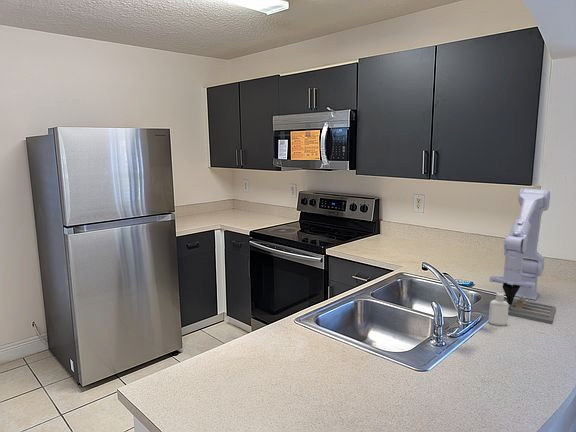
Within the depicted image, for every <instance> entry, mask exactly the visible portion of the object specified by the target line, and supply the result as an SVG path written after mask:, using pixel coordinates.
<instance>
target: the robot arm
mask: <svg viewBox="0 0 576 432" xmlns="http://www.w3.org/2000/svg"><path fill="white" fill-rule="evenodd" d="M550 199H551V192H550V190H549V189H539V188H538V189H536V188H534V189H533V188H525V187H522V188H521V189H520V190H519V191H518V197H517V201H518V203H519V206H521V207H520V211H519V215H518V219H515V220H514V221H513V222H512V226H511V230H510V233H509V235H508V236H506V237H505V238H504V240H503V241H504V242H503V251H504V252H503V255H504V256H505V258H504V268H503V269H504V270H503V276H498V275H497V276H496V275H490V276H489V283H497V284H502V290H503V291H504V293H505V294H504V295H505V297H506V302H507V303H508V304H509V306H510V305H512V303H513V299H515V298H516V297H518V298H519V297H520V295H521V296H522V295H524V296H526V299H529V300H535V301H536V300H537V298H538V295H539V292H537V289H538V279H539V277H541V276H542V275H543V272H544V268H545V257H544V256H543V255H542V254H541V253H539V252H538V246H539V245H538V244H539V238H540V237H539V236H540V229H541V222H542V221H541V220H542V216H543V213H544V212H545V211H548V210H549V207H550V202H551V201H550Z"/></svg>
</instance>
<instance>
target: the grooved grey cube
mask: <svg viewBox="0 0 576 432" xmlns="http://www.w3.org/2000/svg"><path fill="white" fill-rule="evenodd" d="M518 299H519V301H520V300H521V302H523V303H526V301H527V298H526V296H524V295H522V296H521V295H520V297H518Z"/></svg>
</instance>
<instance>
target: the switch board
mask: <svg viewBox="0 0 576 432" xmlns="http://www.w3.org/2000/svg"><path fill="white" fill-rule="evenodd" d="M517 301H519V298H514V299H513V303H512V305H509V308H508V316H512V317H517V318H521V319H526V320H529V321H530V320H531V321H535V322H539V323H540V322H541V323H545V324H550V325H553V322H554V317H555V313H556V308H557V306H556V305H555V306H554V305H551V304H545V303H543V302H536V301H530V300H526V303H523V309H521V308H516V302H517Z"/></svg>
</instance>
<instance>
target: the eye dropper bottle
mask: <svg viewBox="0 0 576 432" xmlns="http://www.w3.org/2000/svg"><path fill="white" fill-rule="evenodd" d="M502 290H503V289H499V290H498V292H496V293H495V299H492V300H491V301H490V302H489V309H488V323H489V324H490V325H495V326H507V325H508V317H509V315H508V308H509V306H510V305H509V304H508V303H507V300H505V294H504V293H503V291H502Z"/></svg>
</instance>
